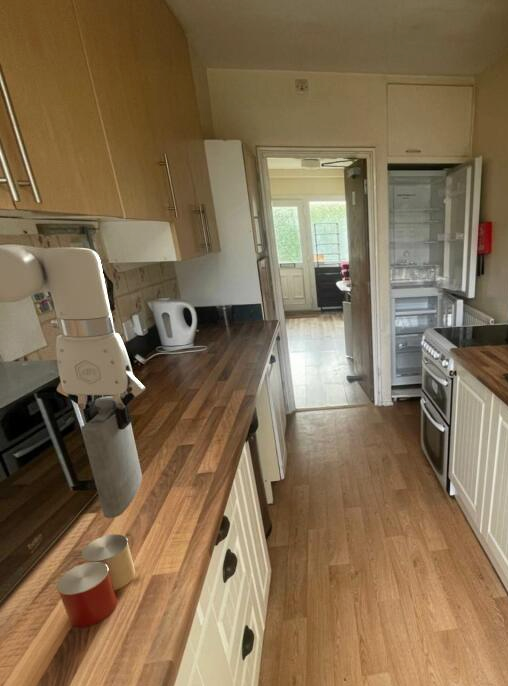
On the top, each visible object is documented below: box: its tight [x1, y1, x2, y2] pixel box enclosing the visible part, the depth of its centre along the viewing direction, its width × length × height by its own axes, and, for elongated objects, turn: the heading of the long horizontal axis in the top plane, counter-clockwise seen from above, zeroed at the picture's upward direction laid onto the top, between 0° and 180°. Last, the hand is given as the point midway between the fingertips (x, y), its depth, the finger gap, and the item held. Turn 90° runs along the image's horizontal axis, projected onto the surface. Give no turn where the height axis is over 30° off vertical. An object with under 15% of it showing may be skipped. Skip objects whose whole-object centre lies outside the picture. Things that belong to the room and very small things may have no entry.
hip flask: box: [80, 395, 143, 519], centre depth 80 cm, size 16×4×20 cm, turn 14°
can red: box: [56, 562, 118, 628], centre depth 68 cm, size 7×7×7 cm
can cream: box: [81, 533, 136, 592], centre depth 75 cm, size 7×7×7 cm
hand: (110, 425), depth 78 cm, fingers closed on hip flask, 4 cm apart
